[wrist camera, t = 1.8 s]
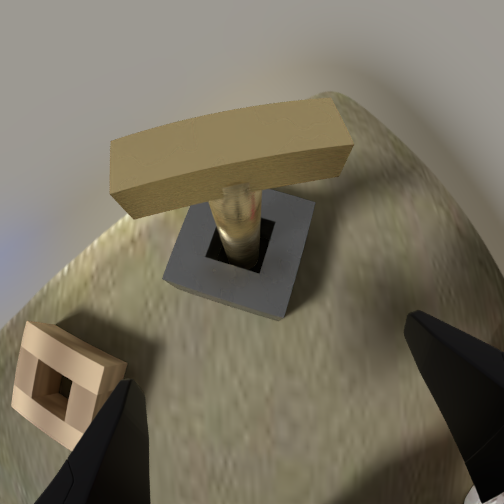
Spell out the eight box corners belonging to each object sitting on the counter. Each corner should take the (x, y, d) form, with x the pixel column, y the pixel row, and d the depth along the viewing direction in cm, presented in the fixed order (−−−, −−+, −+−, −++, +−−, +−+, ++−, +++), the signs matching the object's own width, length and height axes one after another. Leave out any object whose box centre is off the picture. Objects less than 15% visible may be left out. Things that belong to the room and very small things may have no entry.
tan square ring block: (127, 363, 21) (104, 367, 17) (106, 444, 19) (84, 458, 15) (54, 324, 22) (26, 320, 18) (38, 401, 19) (11, 406, 16)
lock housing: (306, 223, 24) (315, 202, 20) (278, 321, 22) (283, 318, 18) (211, 196, 24) (204, 172, 21) (177, 288, 22) (162, 278, 19)
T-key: (289, 230, 24) (330, 95, 10) (297, 259, 23) (355, 146, 9) (189, 251, 23) (110, 139, 9) (195, 281, 23) (109, 196, 9)
